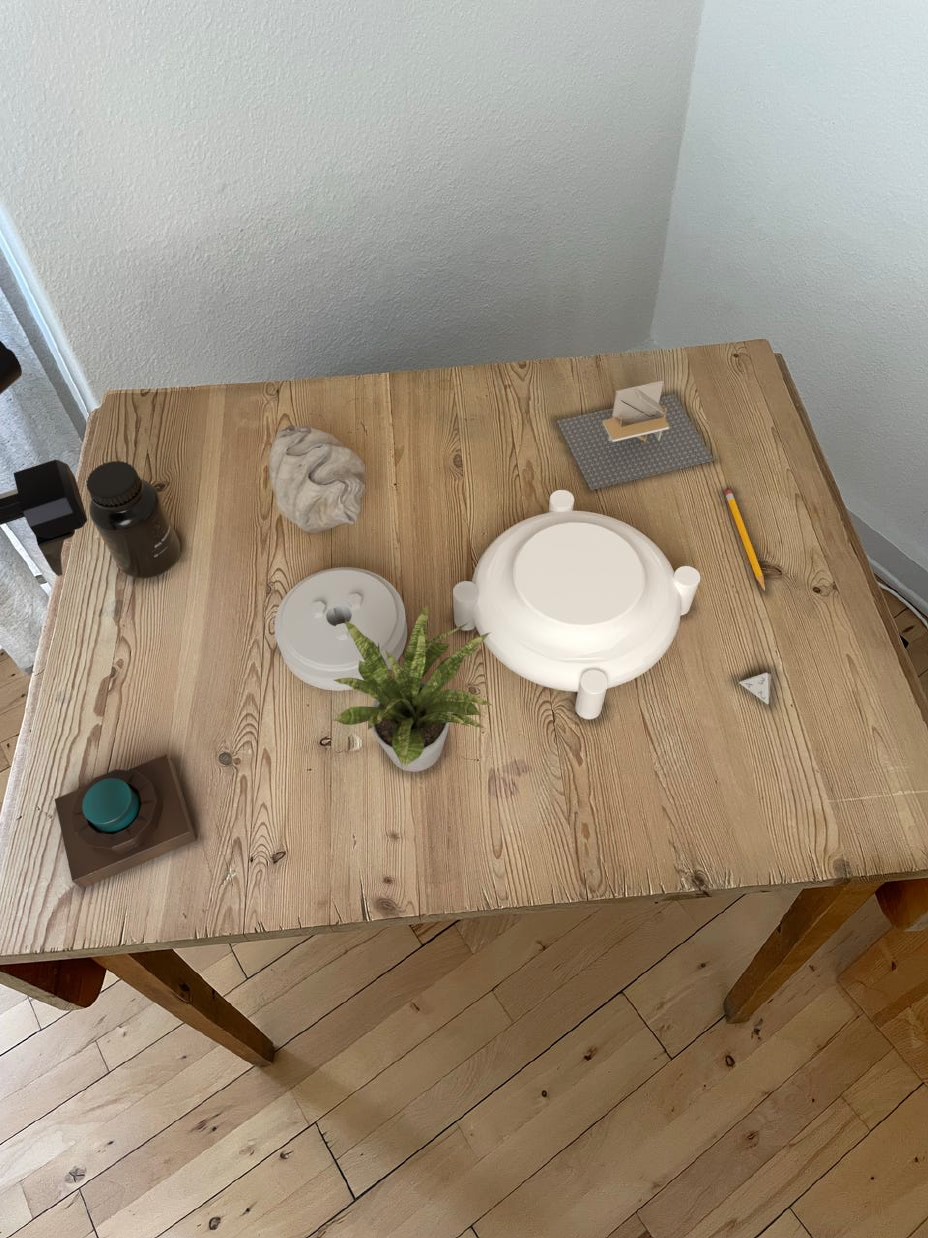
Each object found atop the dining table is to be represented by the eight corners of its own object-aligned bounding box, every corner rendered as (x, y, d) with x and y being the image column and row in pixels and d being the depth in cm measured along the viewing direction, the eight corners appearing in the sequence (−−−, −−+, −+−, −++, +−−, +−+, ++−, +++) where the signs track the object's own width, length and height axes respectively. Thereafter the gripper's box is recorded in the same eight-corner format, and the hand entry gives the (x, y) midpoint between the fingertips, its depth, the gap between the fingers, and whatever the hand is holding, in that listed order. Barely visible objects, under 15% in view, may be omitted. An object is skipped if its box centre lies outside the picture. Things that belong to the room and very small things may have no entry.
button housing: (82, 889, 74) (63, 875, 71) (64, 807, 78) (45, 791, 75) (196, 840, 76) (183, 824, 73) (173, 763, 80) (160, 745, 77)
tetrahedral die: (741, 673, 86) (738, 656, 83) (771, 674, 84) (769, 657, 82) (737, 703, 84) (734, 687, 82) (768, 705, 82) (765, 688, 80)
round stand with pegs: (446, 528, 94) (444, 484, 88) (666, 513, 95) (678, 468, 89) (462, 728, 81) (461, 692, 75) (716, 710, 82) (735, 673, 76)
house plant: (510, 819, 77) (517, 740, 63) (354, 844, 76) (326, 769, 62) (484, 679, 84) (484, 581, 71) (341, 699, 83) (314, 604, 70)
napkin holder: (665, 449, 100) (677, 400, 94) (608, 462, 99) (617, 414, 93) (653, 429, 102) (664, 380, 96) (598, 441, 101) (605, 393, 95)
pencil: (730, 493, 97) (732, 489, 96) (767, 592, 89) (769, 588, 89) (723, 494, 97) (725, 490, 96) (760, 593, 89) (762, 589, 89)
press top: (96, 840, 73) (87, 831, 71) (87, 798, 75) (77, 789, 73) (144, 820, 73) (135, 811, 72) (133, 779, 75) (125, 770, 74)
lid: (273, 602, 90) (263, 573, 85) (393, 576, 91) (389, 547, 87) (291, 708, 83) (280, 683, 79) (420, 678, 84) (417, 652, 80)
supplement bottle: (185, 572, 92) (149, 497, 82) (120, 587, 91) (75, 513, 81) (179, 524, 96) (144, 446, 85) (116, 537, 95) (72, 461, 85)
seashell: (280, 567, 92) (260, 506, 84) (276, 463, 100) (257, 398, 92) (376, 555, 93) (366, 493, 84) (365, 453, 101) (354, 387, 92)
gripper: (19, 357, 68) (94, 490, 81) (-239, 432, 64) (-117, 560, 77) (45, 452, 62) (121, 578, 76) (-236, 541, 58) (-105, 658, 72)
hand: (5, 590), depth 75 cm, fingers open, 9 cm apart
